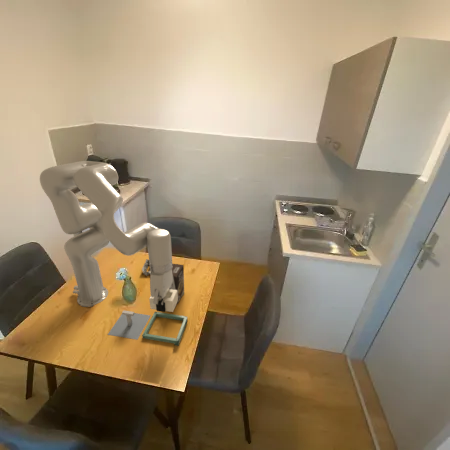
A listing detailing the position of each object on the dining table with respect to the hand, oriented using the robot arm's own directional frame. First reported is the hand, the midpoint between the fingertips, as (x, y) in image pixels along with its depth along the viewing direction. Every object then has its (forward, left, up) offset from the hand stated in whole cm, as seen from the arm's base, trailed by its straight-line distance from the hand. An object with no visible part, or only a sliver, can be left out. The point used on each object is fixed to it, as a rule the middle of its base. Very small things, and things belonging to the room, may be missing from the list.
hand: (164, 303), depth 93 cm
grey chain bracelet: (-22, +36, -14) cm, 45 cm away
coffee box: (-3, +18, -14) cm, 23 cm away
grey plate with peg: (-15, -1, -14) cm, 20 cm away
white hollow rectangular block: (0, 0, 0) cm, 0 cm away
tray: (0, 0, -14) cm, 14 cm away
